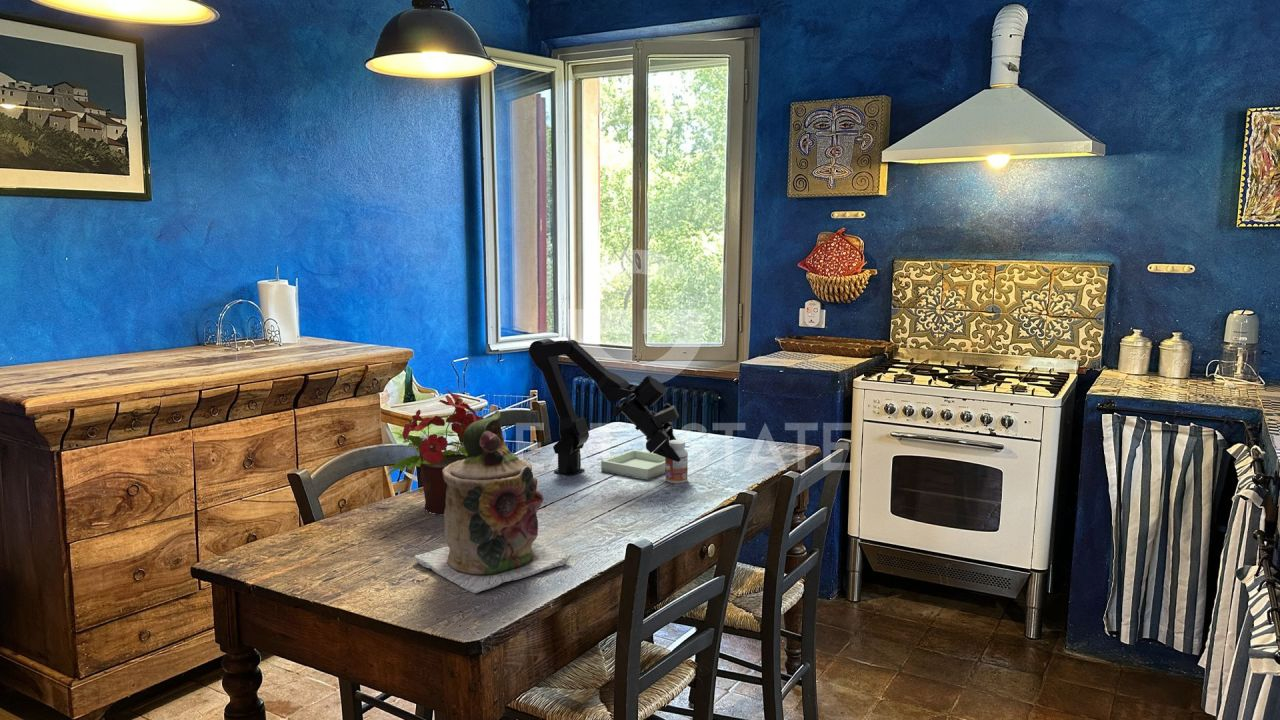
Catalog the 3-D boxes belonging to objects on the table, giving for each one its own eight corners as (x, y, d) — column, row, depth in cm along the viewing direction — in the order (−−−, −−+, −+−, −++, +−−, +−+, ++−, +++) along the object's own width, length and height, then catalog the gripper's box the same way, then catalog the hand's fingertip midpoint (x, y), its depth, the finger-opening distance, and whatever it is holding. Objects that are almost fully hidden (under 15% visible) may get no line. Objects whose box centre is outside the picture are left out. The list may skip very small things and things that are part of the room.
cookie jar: (409, 563, 186) (403, 413, 182) (505, 535, 203) (502, 397, 199) (477, 598, 169) (472, 433, 164) (576, 563, 186) (574, 413, 181)
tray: (647, 479, 247) (647, 469, 247) (601, 471, 256) (601, 460, 256) (678, 467, 260) (678, 457, 260) (633, 459, 269) (633, 449, 269)
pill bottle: (663, 477, 249) (663, 439, 247) (685, 477, 250) (685, 438, 248) (666, 484, 243) (666, 444, 241) (689, 483, 244) (689, 444, 242)
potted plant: (479, 526, 209) (475, 400, 205) (373, 519, 214) (367, 396, 210) (520, 490, 238) (518, 379, 233) (426, 484, 243) (422, 376, 239)
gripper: (658, 403, 234) (699, 445, 234) (664, 390, 252) (703, 429, 253) (628, 431, 236) (670, 473, 237) (637, 417, 255) (675, 455, 255)
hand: (680, 456), depth 245 cm, fingers open, 9 cm apart
